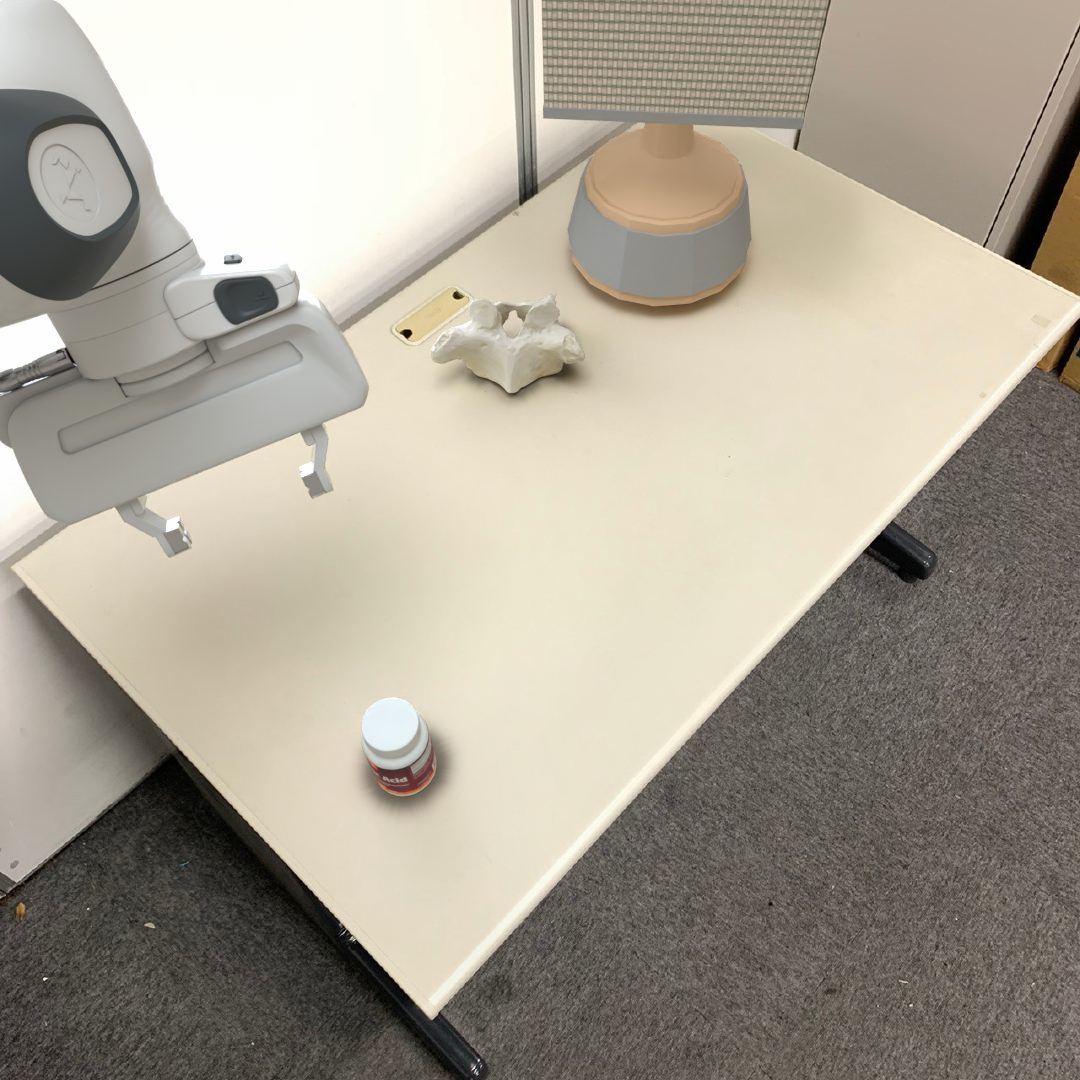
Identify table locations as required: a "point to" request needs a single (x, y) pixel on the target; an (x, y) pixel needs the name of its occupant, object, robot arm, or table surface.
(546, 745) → the table surface
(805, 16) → the desk lamp
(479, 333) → the bone
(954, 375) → the table surface
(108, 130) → the robot arm
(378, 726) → the pill bottle
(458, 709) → the table surface
